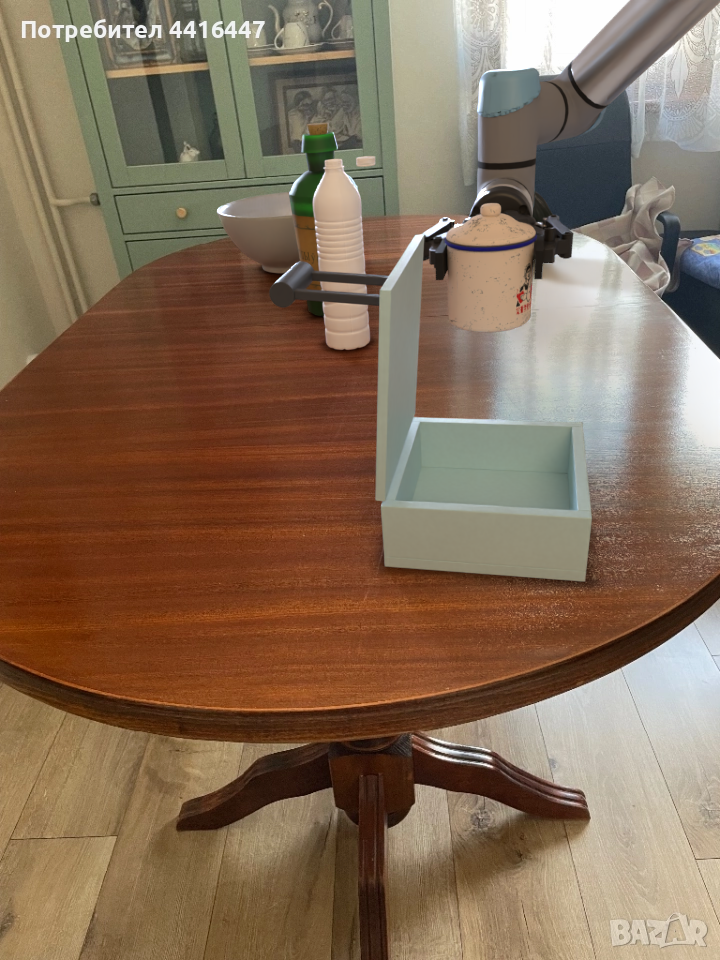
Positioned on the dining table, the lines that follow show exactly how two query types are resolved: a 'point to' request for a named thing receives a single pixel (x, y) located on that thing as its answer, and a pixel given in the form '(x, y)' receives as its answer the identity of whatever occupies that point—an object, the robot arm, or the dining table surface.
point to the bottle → (311, 198)
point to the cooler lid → (395, 342)
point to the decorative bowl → (263, 230)
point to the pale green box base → (490, 499)
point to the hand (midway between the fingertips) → (488, 265)
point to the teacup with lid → (490, 272)
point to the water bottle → (341, 252)
